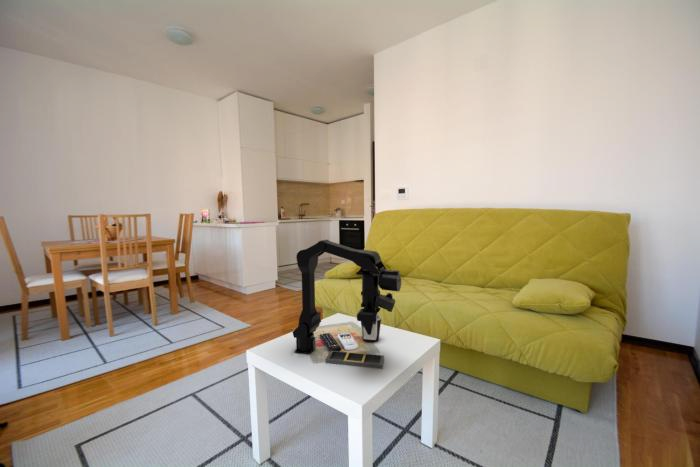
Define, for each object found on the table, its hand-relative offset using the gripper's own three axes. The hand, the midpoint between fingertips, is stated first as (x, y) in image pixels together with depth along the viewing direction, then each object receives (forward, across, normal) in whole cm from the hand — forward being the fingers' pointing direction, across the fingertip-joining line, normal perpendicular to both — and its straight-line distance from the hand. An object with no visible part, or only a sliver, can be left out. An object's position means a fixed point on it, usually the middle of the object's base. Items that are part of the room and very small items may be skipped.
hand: (370, 331), depth 103 cm
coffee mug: (+12, +20, +2) cm, 23 cm away
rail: (+12, 0, +5) cm, 13 cm away
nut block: (+2, 0, 0) cm, 2 cm away
